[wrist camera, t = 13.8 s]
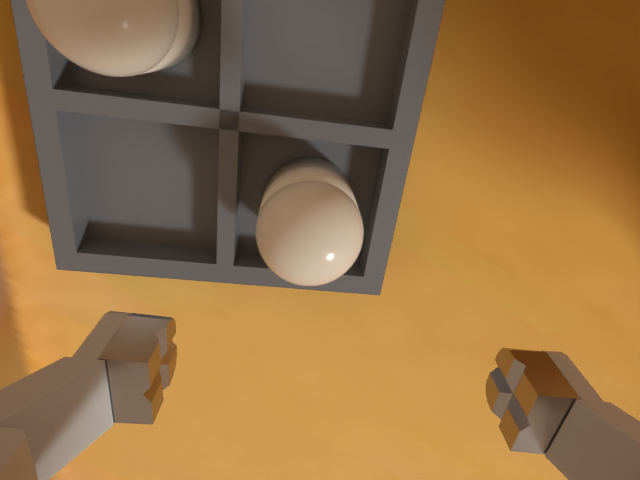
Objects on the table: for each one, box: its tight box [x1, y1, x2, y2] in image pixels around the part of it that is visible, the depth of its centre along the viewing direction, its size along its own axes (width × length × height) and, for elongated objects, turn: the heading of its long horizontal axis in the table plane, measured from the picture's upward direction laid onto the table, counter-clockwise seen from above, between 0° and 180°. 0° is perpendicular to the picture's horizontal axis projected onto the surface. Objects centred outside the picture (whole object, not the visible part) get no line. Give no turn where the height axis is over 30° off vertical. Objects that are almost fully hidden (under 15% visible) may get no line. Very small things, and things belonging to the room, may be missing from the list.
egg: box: [256, 157, 364, 286], centre depth 17 cm, size 4×4×6 cm
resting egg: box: [26, 0, 202, 77], centre depth 14 cm, size 4×4×6 cm
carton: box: [11, 0, 445, 295], centre depth 18 cm, size 16×16×2 cm
